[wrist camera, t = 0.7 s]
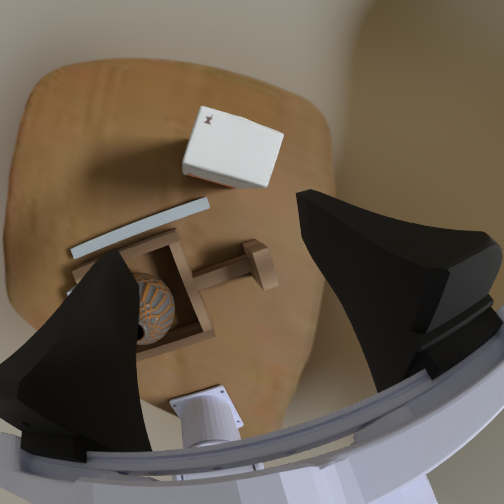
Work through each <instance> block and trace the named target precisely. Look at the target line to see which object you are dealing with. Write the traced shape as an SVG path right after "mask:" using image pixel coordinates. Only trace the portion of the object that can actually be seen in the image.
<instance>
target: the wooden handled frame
mask: <svg viewBox="0 0 504 504" xmlns="http://www.w3.org/2000/svg"><path fill="white" fill-rule="evenodd" d="M167 245H169V246H170V249H171V252H172V254H173V257H174V260H175V262H176V265H177V268H178V270H179V273H180V276H181V278H182V281H183V283H184V286H185V288H186V291H187V293H188V296H189V298H190V301H191V303H192V305H193V308H194V310H195V313H196V315H197V317H198V320H199V321H197V322H194V323H191V324H188V325H186V326H183V327H180V328H177V329H174V330H171V331H168V332H167V333H166V334H165V335H164V336H163V337H162V338H161V339H160V340H158V341H156V342H154V343H152V344H147V345H137V349H136V362H137V361H140V360H143V359H147V358H150V357H154V356H157V355H160V354H163V353H167V352H170V351H173V350H176V349H179V348H182V347H185V346H189V345H192V344H195V343H198V342H201V341H203V340H206V339H209V338H212V337H215V332H214V328H213V324H212V321H211V319H210V316H209V314H208V311H207V309H206V306H205V304H204V301H203V299H202V296H201V294H200V291H199V290H202V289H205V288H208V287H211V286H214V285H216V284H219V283H222V282H225V281H228V280H230V279H233V278H236V277H239V276H241V275H244V274H247V273H250V272H251V274H252V277H253V278H254V279H255V280H256V282H257V283H258V284H259V285H260V287H261V288H262V289H263V290H264V291H266V290H268V289H271V288H273V287H276V286H279V283H278V279H277V276H276V272H275V269H274V265H273V262H272V258H271V255H270V251H269V248H268V247H267V246H265V245H264V244H262V243H261V242H259V241H258V240H256V239H254V240H251V241H248V242H245V243H242V245H243V249H244V252H245V254H244V255H241V256H239V257H236V258H233V259H230V260H227V261H224V262H222V263H219V264H216V265H213V266H210V267H207V268H205V269H202V270H199V271H196V272H193V273H192V270H191V268H190V265H189V262H188V259H187V257H186V254H185V251H184V248H183V246H182V243H181V240H180V237H179V234H178V231H177V228H174V229H171V230H169V231H166V232H163V233H160V234H158V235H155V236H152V237H149V238H147V239H144V240H141V241H139V242H136V243H133V244H131V245H128V246H126V247H123V248H121V249H118V251H119V253H120V254H121V256H122V258H123V259H124V261H126V260H129V259H132V258H134V257H137V256H140V255H142V254H145V253H148V252H150V251H153V250H156V249H159V248H161V247H164V246H167ZM100 257H101V256H100ZM100 257H98V258H95V259H93V260H90V261H88V262H86V263H83V264H81V265H80V266H78V267H77V268H76V269H74V270H73V271H72V274H73V276H74V278H75V281H76V283H77V284H78V283H79V282H80V280H81V279H82V278H83V277H84V275H85V274H86V273H87V272H88V270H89V269H90V268H91V267H92V265H93V264H94V263H95V262H96V261H97V260H98V259H99V258H100Z"/></svg>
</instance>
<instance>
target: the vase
mask: <svg viewBox="0 0 504 504" xmlns="http://www.w3.org/2000/svg"><path fill="white" fill-rule="evenodd" d="M132 275H133V276H134V278H135V280H136V281H137V283H138V284H139V293H140V312H139V324H138V336H137V345H147V344H152V343H154V342H156V341H158V340H160V339H161V338H162V337H163V336H164V335H165V334H166V333H167V332H168V330H169V329H170V327H171V325H172V323H173V320H174V315H175V304H174V299H173V296H172V293H171V291H170V290H169V288H168V287H167V285H166V284H165V283H164V282H163V281H162V280H160V279H159V278H157V277H155V276H153V275H150V274H146V273H137V274H132Z"/></svg>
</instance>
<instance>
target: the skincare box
mask: <svg viewBox="0 0 504 504" xmlns="http://www.w3.org/2000/svg"><path fill="white" fill-rule="evenodd" d="M283 136H284V135H283V133H281V132H278V131H276V130H273V129H271V128H268V127H265V126H263V125H260V124H257V123H255V122H252V121H250V120H248V119H245V118H243V117H240V116H235V115H232V114H228V113H225V112H222V111H218V110H215V109H212V108H208V107H205V106H201V107H200V108H199V111H198V114H197V117H196V120H195V123H194V126H193V129H192V132H191V135H190V138H189V141H188V144H187V147H186V151H185V154H184V157H183V160H182V172H183V174H184V175H188V176H192V177H196V178H200V179H203V180H207V181H210V182H214V183H217V184H220V185H224V186H227V187H230V188H233V189H242V188H243V189H244V188H267V186H268V183H269V180H270V177H271V174H272V171H273V168H274V164H275V161H276V158H277V155H278V152H279V149H280V146H281V143H282V140H283Z"/></svg>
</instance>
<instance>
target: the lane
mask: <svg viewBox="0 0 504 504" xmlns="http://www.w3.org/2000/svg"><path fill="white" fill-rule="evenodd" d="M209 208H210V206H209V203H208V200H207V197H204V198H201V199H198V200H195V201H192V202H189V203H186V204H183V205H180V206H177V207H174V208H172V209H169V210H166V211H163V212H160V213H158V214H155V215H152V216H150V217H147V218H144V219H142V220H139V221H136V222H134V223H131V224H129V225H126V226H124V227H121V228H119V229H116V230H114V231H111V232H109V233H106V234H104V235H101V236H99V237H97V238H94V239H92V240H90V241H87V242H85V243H83V244H80V245H78V246H76V247H74V248H72V249H71V252H72V254H73V257H74V259H77V258H79V257H81V256H84V255H86V254H88V253H91V252H93V251H96V250H98V249H101V248H103V247H106V246H108V245H111V244H113V243H116V242H118V241H121V240H123V239H126V238H128V237H131V236H133V235H136V234H139V233H141V232H144V231H147V230H149V229H152V228H155V227H157V226H160V225H163V224H166V223H168V222H171V221H174V220H177V219H180V218H183V217H185V216H188V215H191V214H194V213H197V212H200V211H203V210H206V209H209ZM75 287H76V285H75V286H73V287H72V288H71V289H70V290H69V291H68V292H67V295H69V294H70V293H71V292H72V290H73V289H74V288H75Z"/></svg>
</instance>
